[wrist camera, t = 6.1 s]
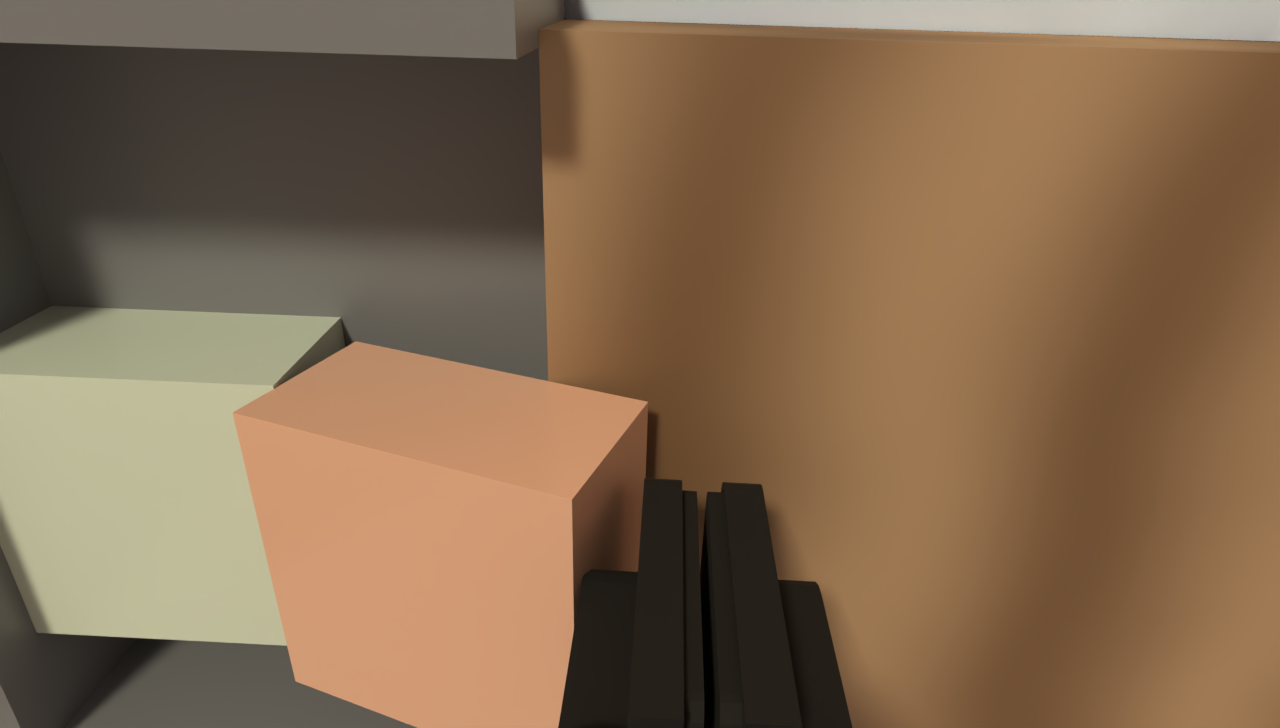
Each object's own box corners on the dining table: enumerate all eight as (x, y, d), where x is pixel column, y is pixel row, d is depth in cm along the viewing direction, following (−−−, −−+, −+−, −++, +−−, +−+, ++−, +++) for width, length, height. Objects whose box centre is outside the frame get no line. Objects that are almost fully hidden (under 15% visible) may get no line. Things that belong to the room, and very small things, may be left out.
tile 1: (341, 317, 13) (273, 386, 11) (377, 550, 16) (326, 647, 13) (52, 305, 13) (-73, 371, 11) (128, 539, 16) (36, 632, 13)
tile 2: (647, 401, 11) (572, 500, 9) (639, 661, 13) (575, 787, 11) (355, 340, 13) (232, 412, 11) (391, 582, 15) (295, 681, 13)
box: (564, -57, 11) (511, -74, 8) (574, 658, 17) (547, 836, 14) (-120, -77, 11) (-481, -101, 8) (130, 636, 18) (-9, 803, 14)
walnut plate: (1820, 59, 11) (2107, 79, 9) (1384, 733, 17) (1488, 845, 15) (565, 18, 12) (538, 29, 9) (574, 690, 18) (559, 793, 16)
